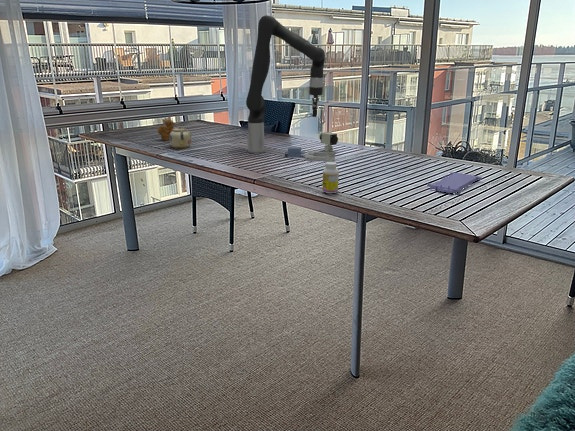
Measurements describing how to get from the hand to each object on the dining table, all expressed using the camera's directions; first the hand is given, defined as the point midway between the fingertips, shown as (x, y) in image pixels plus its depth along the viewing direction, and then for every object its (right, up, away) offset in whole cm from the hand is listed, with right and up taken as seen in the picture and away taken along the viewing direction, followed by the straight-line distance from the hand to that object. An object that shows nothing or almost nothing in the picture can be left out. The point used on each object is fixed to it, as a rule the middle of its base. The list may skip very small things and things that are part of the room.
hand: (314, 115), depth 263 cm
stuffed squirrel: (-95, -6, +49) cm, 107 cm away
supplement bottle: (+3, -47, -64) cm, 79 cm away
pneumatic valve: (+9, -18, +16) cm, 26 cm away
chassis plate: (+3, -24, -1) cm, 24 cm away
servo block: (-11, -23, +3) cm, 25 cm away
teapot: (-81, -14, +26) cm, 86 cm away
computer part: (+60, -44, -53) cm, 91 cm away
